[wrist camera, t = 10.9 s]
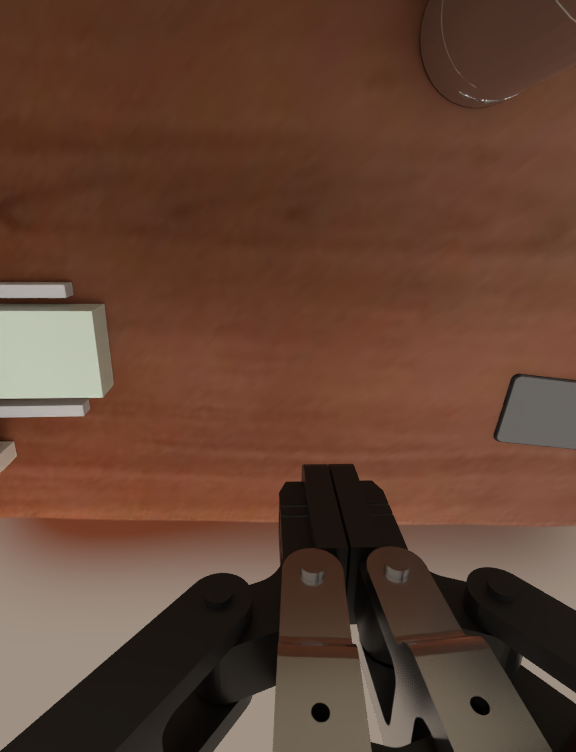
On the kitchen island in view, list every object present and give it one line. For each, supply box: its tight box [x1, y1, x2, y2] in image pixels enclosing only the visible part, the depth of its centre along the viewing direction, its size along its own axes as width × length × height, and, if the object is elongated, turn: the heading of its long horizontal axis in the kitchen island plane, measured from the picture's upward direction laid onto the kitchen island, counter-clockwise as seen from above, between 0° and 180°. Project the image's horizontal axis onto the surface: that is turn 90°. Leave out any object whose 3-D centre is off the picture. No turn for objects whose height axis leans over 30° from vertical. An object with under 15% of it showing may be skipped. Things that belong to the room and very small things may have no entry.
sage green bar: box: [0, 304, 114, 399], centre depth 36 cm, size 7×16×3 cm, turn 89°
